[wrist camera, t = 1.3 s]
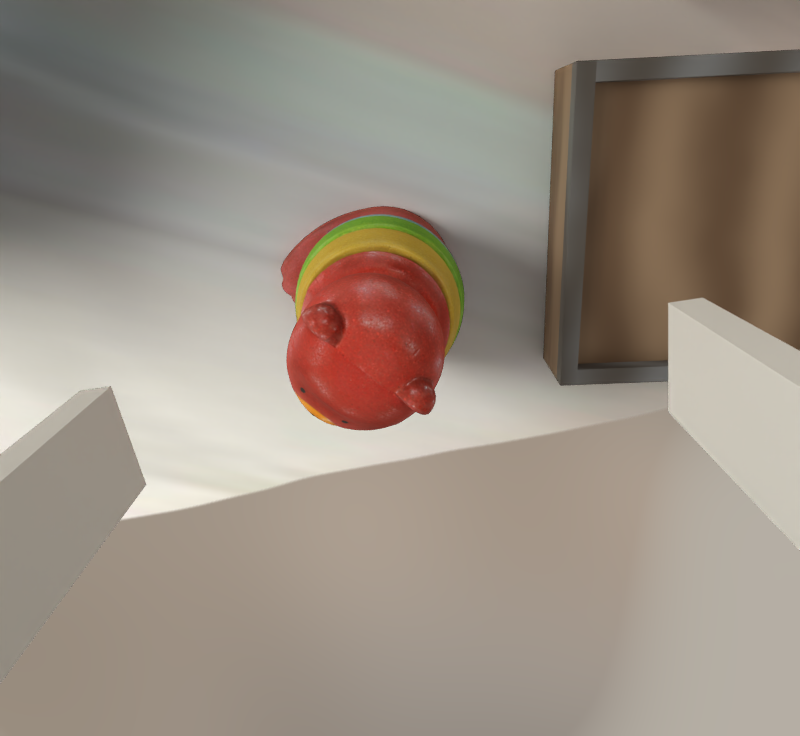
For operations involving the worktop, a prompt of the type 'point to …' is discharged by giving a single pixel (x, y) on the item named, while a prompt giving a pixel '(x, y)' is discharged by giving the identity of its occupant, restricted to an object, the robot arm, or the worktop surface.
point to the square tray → (669, 205)
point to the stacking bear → (371, 317)
